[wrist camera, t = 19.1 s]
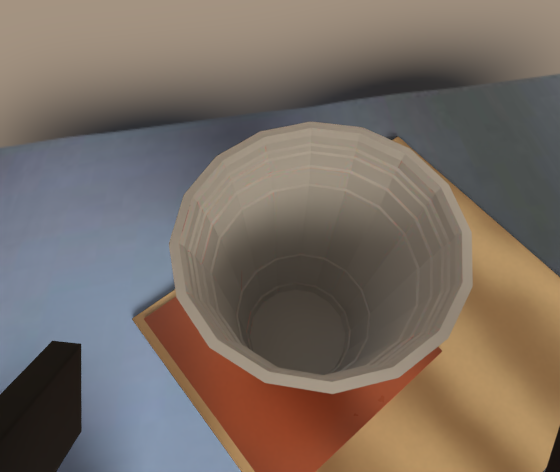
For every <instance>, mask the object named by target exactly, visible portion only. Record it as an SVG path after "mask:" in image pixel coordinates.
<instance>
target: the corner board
mask: <svg viewBox="0 0 560 472" xmlns="http://www.w3.org/2000/svg"><path fill="white" fill-rule="evenodd" d="M392 141H394V142H396V143H399V144H401V145H403V146H405V147H408V148H410V149H411V150H412V151H413V152H414V153H415V154H417V155H418V156H419V157H420V158H421V159H422V160H423V161H424V162H425V163H426V164H427V165H428V166H429V167H430V168H432V169H433V170H434V171H435V172H436V173H437V174H438V175H439V176H440V177H441V178H442V179H443V180H444V181H446V182H447V183H448V184H449V186H450V188H451V190H452V192H453V194H454V196H455V199H456V201H457V203H458V205H459V207H460V209H461V211H462V213H463V215H464V217H465V219H466V221H467V224H468V226H469V228H470V230H471V232H472V274H473V287H472V289H471V291H470V293H469V295H468V297H467V300H466V302H465V304H464V306H463V308H462V310H461V312H460V314H459V316H458V319H457V321H456V323H455V325H454V327H453V329H452V331H451V333H450V336H449V338H448V339H447V340H446V341H444V342H443V343H442V344H441V345H439V346H438V347H437V348H436V349H434V350H433V351H432V352H430V353H429V354H428V355H427V356H425V357H424V358H423V359H422V360H420V361H419V362H418V363H417V364H415V365H414V366H413V367H412V368H410V369H409V370H408V371H407V372H405V373H404V374H403V375H402V376H400V377H399V378H396V379H392V380H388V381H383V382H379V383H375V384H371V385H367V386H363V387H359V388H355V389H351V390H347V391H343V392H339V393H335V394H330V393H324V392H318V391H311V390H305V389H299V388H293V387H287V386H281V385H275V384H269V383H264V382H263V381H261V380H260V379H258V378H256V377H255V376H253V375H252V374H250V373H249V372H247V371H245V370H244V369H242V368H241V367H239V366H238V365H236V364H234V363H233V362H231V361H230V360H228V359H227V358H225V357H223V356H222V355H220V354H219V353H217V352H216V351H214V350H212V349H211V348H209V346H208V345H207V343H206V342H205V340H204V339H203V337H202V336H201V334H200V333H199V331H198V329H197V328H196V326H195V325H194V323H193V322H192V320H191V319H190V317H189V316H188V314H187V313H186V311H185V310H184V308H183V307H182V305H181V304H180V302H179V301H178V299H177V297H176V290H173V291H172V292H170V293H169V294H167V295H166V296H164V297H163V298H162V299H160V300H159V301H157V302H156V303H154V304H153V305H151V306H150V307H148V308H147V309H145V310H144V311H143V312H141V313H140V314H138V315H137V316H135V317H134V318H132V320H133V321H134V323H135V324H136V326H137V327H138V328H139V330H140V331H141V333H142V334H143V335H144V337H145V338H146V340H147V341H148V342H149V344H150V345H151V346H152V348H153V349H154V351H155V352H156V353H157V355H158V356H159V358H160V359H161V360H162V362H163V363H164V365H165V366H166V367H167V369H168V370H169V372H170V373H171V374H172V376H173V377H174V378H175V380H176V381H177V383H178V384H179V385H180V387H181V388H182V390H183V391H184V392H185V394H186V395H187V397H188V398H189V399H190V401H191V402H192V404H193V405H194V406H195V408H196V409H197V410H198V412H199V413H200V415H201V416H202V417H203V419H204V420H205V422H206V423H207V424H208V426H209V427H210V429H211V430H212V431H213V433H214V434H215V436H216V437H217V438H218V440H219V441H220V442H221V444H222V445H223V447H224V448H225V449H226V451H227V452H228V454H229V455H230V456H231V458H232V459H233V461H234V462H235V463H236V465H237V466H238V468H239V469H240V470H241V472H543V471H544V469H545V468H546V467H547V464H548V461H549V458H550V455H551V452H552V448H553V445H554V442H555V439H556V436H557V433H558V429H559V426H560V277H559V276H558V275H556V274H555V273H554V272H553V271H552V270H551V269H549V268H548V267H547V266H546V265H545V264H544V263H543V262H541V261H540V260H539V259H538V258H537V257H536V256H535V255H533V254H532V253H531V252H530V251H529V250H528V249H527V248H525V247H524V246H523V245H522V244H521V243H520V242H519V241H517V240H516V239H515V238H514V237H513V236H512V235H511V234H509V233H508V232H507V231H506V230H505V229H504V228H502V227H501V226H500V225H499V224H498V223H497V222H496V221H494V220H493V219H492V218H491V217H490V216H489V215H488V214H486V213H485V212H484V211H483V210H482V209H481V208H480V207H478V206H477V205H476V204H475V203H474V202H473V201H472V200H470V199H469V198H468V197H467V196H466V195H465V194H464V193H462V192H461V191H460V190H459V189H458V188H457V187H455V186H454V185H453V184H452V183H451V182H450V181H449V180H447V179H446V178H445V177H444V176H443V175H442V174H441V173H439V172H438V171H437V170H436V169H435V168H434V167H433V166H431V165H430V164H429V163H428V162H427V161H426V160H425V159H423V158H422V157H421V156H420V155H419V154H418V153H417V152H415V151H414V150H413V149H412V148H411V147H410V146H408V145H407V144H406V143H405V142H404V141H403V140H402V139H400V138H399V137H396V138H395V139H393V140H392Z"/></svg>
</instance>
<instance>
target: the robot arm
mask: <svg viewBox="0 0 560 472" xmlns="http://www.w3.org/2000/svg"><path fill="white" fill-rule="evenodd" d="M80 433H81V344H77V343H68V342H59V341H52V342H51V343H50V344H49V345H48V346H47V347H46V348H45V349H44V350H43V351H42V352H41V353H40V354H39V355H38V356H37V357H36V358H35V359H34V360H33V361H32V362H31V363H30V365H29V366H28V367H27V368H26V369H25V370H24V371H23V372H22V373H21V374H20V375H19V376H18V377H17V378H16V379H15V380H14V381H13V382H12V383H11V384H10V385H9V386H8V387H7V388H6V389H5V390H4V391H3V392H2V393H1V394H0V472H56V471H57V469H58V468H59V466H60V465H61V463H62V461H63V460H64V458H65V457H66V455H67V453H68V452H69V450H70V449H71V447H72V445H73V444H74V442H75V441H76V439H77V437H78V436H79V434H80ZM545 472H560V426H559V429H558V433H557V436H556V439H555V442H554V445H553V448H552V452H551V455H550V458H549V461H548V464H547V467H546V470H545Z"/></svg>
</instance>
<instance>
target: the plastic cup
mask: <svg viewBox="0 0 560 472" xmlns="http://www.w3.org/2000/svg"><path fill="white" fill-rule="evenodd" d="M169 248H170V255H171V262H172V269H173V276H174V283H175V290H176V297H177V299H178V301H179V302H180V304H181V305H182V307H183V308H184V310H185V311H186V313H187V314H188V316H189V317H190V319H191V320H192V322H193V323H194V325H195V326H196V328H197V329H198V331H199V333H200V334H201V336H202V337H203V339H204V340H205V342H206V343H207V345H208V346H209V348H211V349H212V350H214V351H216V352H217V353H219V354H220V355H222V356H223V357H225V358H227V359H228V360H230V361H231V362H233V363H234V364H236V365H238V366H239V367H241V368H242V369H244V370H245V371H247V372H249V373H250V374H252V375H253V376H255V377H256V378H258V379H260V380H261V381H263V382H264V383H269V384H275V385H281V386H287V387H293V388H299V389H305V390H311V391H318V392H324V393H330V394H335V393H339V392H343V391H347V390H351V389H355V388H359V387H363V386H367V385H371V384H375V383H379V382H383V381H388V380H392V379H396V378H399V377H400V376H402V375H403V374H404V373H405V372H407V371H408V370H409V369H410V368H412V367H413V366H414V365H415V364H417V363H418V362H419V361H420V360H422V359H423V358H424V357H425V356H427V355H428V354H429V353H430V352H432V351H433V350H434V349H436V348H437V347H438V346H439V345H441V344H442V343H443V342H444V341H446V340H447V339H448V338H449V336H450V333H451V331H452V329H453V327H454V325H455V323H456V321H457V319H458V316H459V314H460V312H461V310H462V308H463V306H464V304H465V302H466V300H467V297H468V295H469V293H470V291H471V289H472V287H473V274H472V232H471V230H470V228H469V226H468V224H467V221H466V219H465V217H464V215H463V213H462V211H461V209H460V207H459V205H458V203H457V201H456V199H455V196H454V194H453V192H452V190H451V188H450V186H449V184H448V183H447V182H446V181H444V180H443V179H442V178H441V177H440V176H439V175H438V174H437V173H436V172H435V171H434V170H433V169H432V168H430V167H429V166H428V165H427V164H426V163H425V162H424V161H423V160H422V159H421V158H420V157H419V156H418V155H417V154H415V153H414V152H413V151H412V150H411V149H410V148H408V147H405V146H403V145H401V144H399V143H396V142H394V141H392V140H390V139H387V138H385V137H383V136H381V135H378V134H376V133H374V132H372V131H369V130H367V129H365V128H363V127H354V126H345V125H336V124H328V123H319V122H306V123H301V124H296V125H291V126H286V127H280V128H275V129H270V130H265V131H260V132H258V133H257V134H255V135H253V136H251V137H250V138H248V139H246V140H244V141H242V142H241V143H239V144H237V145H235V146H234V147H232V148H230V149H228V150H226V151H225V152H223V153H221V154H219V155H218V156H216V157H215V158H214V160H213V161H212V162H211V163H210V164H209V165H208V167H207V168H206V169H205V170H204V171H203V173H202V174H201V175H200V176H199V177H198V179H197V180H196V181H195V182H194V183H193V185H192V186H191V187H190V188H189V189H188V190H187V192H186V193H185V194H184V196H183V199H182V203H181V206H180V209H179V212H178V216H177V219H176V222H175V225H174V229H173V232H172V235H171V239H170V242H169Z"/></svg>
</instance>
